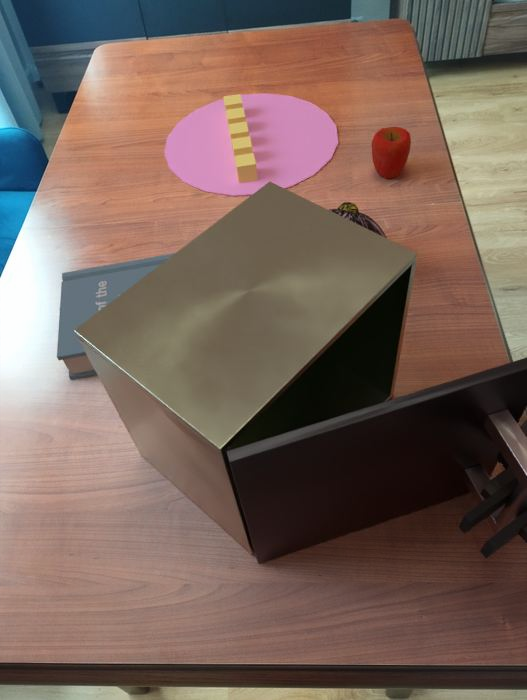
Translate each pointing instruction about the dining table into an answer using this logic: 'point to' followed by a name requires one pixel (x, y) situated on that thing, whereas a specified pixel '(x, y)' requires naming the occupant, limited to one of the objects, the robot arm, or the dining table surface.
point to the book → (93, 304)
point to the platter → (251, 143)
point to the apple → (390, 151)
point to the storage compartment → (251, 340)
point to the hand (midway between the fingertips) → (475, 537)
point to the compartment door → (385, 462)
